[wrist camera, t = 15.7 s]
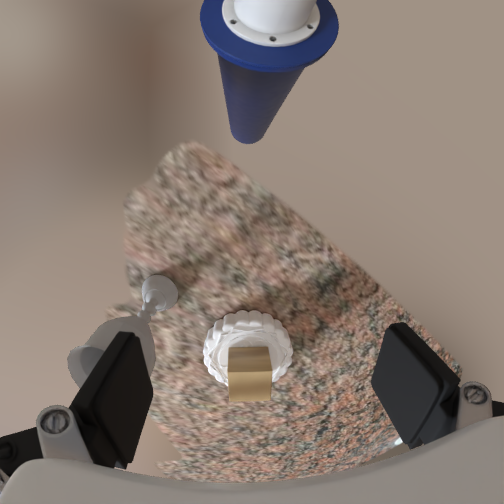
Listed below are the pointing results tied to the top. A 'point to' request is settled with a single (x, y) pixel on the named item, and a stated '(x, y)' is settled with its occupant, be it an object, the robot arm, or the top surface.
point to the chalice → (125, 329)
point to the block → (249, 374)
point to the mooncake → (247, 341)
